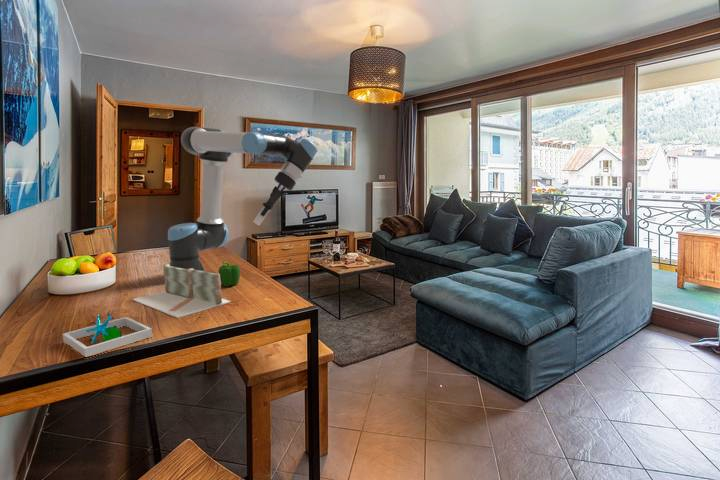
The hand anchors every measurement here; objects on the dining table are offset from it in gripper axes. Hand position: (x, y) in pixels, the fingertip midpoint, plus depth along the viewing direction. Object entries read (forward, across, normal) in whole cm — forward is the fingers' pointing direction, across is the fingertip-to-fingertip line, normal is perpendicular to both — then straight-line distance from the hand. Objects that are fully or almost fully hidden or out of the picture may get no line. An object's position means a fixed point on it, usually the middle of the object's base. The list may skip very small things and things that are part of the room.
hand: (256, 223), depth 142 cm
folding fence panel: (+31, -4, -1) cm, 32 cm away
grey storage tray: (+48, -30, +15) cm, 58 cm away
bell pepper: (+26, +18, -5) cm, 32 cm away
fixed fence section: (+37, +7, +8) cm, 39 cm away
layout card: (+37, 0, +6) cm, 38 cm away
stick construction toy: (+48, -30, +14) cm, 58 cm away
